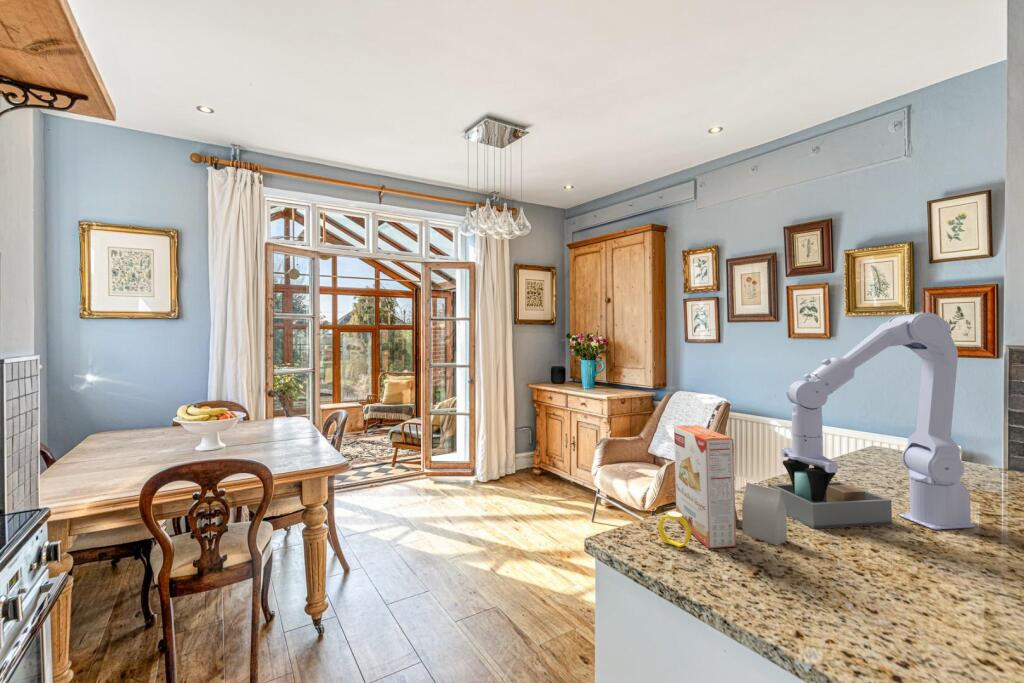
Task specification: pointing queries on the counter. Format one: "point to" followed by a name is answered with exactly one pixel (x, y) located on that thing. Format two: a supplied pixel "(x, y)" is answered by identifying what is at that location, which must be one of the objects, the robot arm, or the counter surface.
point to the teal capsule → (803, 486)
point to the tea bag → (764, 514)
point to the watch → (679, 517)
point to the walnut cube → (844, 493)
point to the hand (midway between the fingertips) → (808, 496)
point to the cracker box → (706, 484)
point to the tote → (836, 510)
